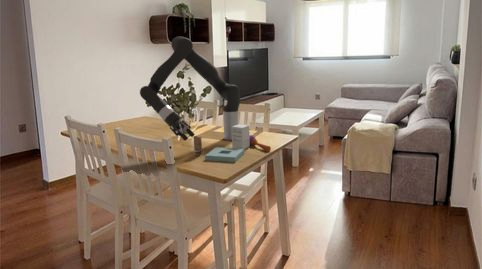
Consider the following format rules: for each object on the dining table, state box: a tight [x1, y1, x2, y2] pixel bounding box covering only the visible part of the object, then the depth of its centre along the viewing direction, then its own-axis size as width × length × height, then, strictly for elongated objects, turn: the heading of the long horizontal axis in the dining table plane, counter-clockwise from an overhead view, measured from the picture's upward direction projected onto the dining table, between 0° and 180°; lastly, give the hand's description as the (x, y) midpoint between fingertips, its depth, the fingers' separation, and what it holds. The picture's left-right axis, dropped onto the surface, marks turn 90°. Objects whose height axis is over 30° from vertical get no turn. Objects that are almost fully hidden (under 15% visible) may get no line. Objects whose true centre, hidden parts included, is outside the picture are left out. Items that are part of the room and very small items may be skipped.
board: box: [204, 147, 245, 163], centre depth 201 cm, size 16×16×2 cm
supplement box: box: [231, 123, 251, 150], centre depth 217 cm, size 7×7×13 cm
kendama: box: [249, 134, 271, 153], centre depth 217 cm, size 6×6×20 cm
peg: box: [193, 135, 203, 157], centre depth 205 cm, size 4×4×10 cm
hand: (190, 137), depth 205 cm, fingers open, 8 cm apart
